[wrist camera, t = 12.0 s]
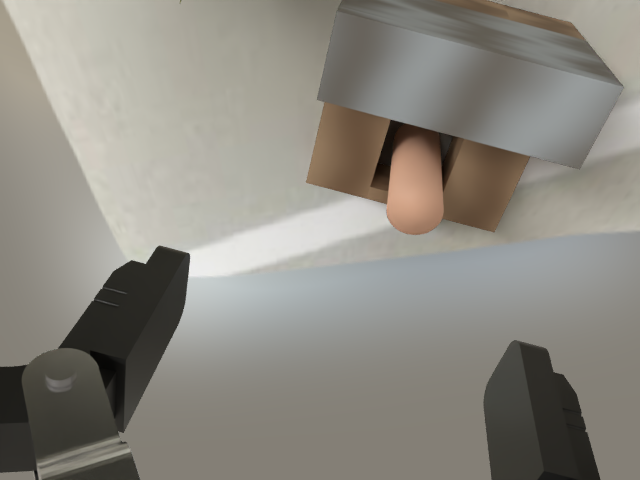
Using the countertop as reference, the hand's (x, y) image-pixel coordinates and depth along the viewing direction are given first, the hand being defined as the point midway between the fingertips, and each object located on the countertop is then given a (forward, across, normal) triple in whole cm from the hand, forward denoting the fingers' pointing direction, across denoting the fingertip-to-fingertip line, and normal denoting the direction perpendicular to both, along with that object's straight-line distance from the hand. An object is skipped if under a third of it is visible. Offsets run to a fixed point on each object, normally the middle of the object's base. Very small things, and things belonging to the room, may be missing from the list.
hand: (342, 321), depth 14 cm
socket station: (+30, -4, +4) cm, 31 cm away
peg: (+30, -4, +8) cm, 31 cm away
